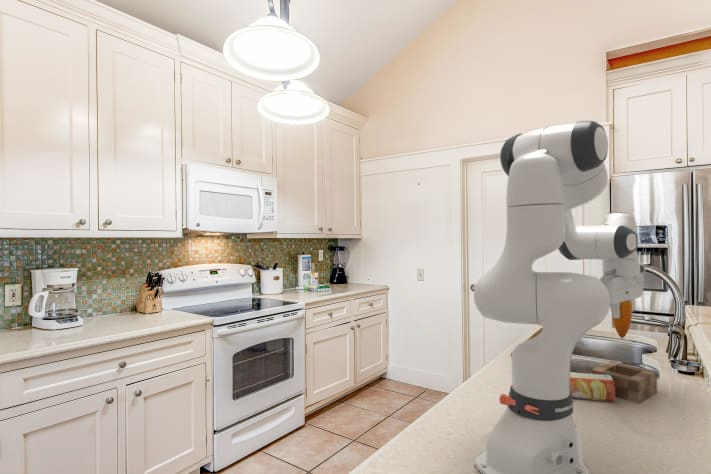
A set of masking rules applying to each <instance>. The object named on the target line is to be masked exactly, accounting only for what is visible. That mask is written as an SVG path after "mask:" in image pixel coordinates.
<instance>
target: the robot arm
mask: <svg viewBox="0 0 711 474" xmlns="http://www.w3.org/2000/svg"><path fill="white" fill-rule="evenodd" d="M608 149H609V139H608V135H607V133H606V131H605V128H604V127H603V125H601V124H599V122H597V121H595V120H579V121H576V122H574V123H564V124H559V125H553V126H544V127H541V128H537V129H533V130H530V131H527V132H525V133H518V134H516V135H513V136H512V137H509V138H508V139H506V140H505V142H504V143H503V145H502V147H501V149H500V155H499V156H500V157H499V159H500V166H501V167H502V169H503V171H504V173H505V174H506V175H507V176H508V177H507V186H506V234H505V235H506V236H505V244H504V247H503V251H502V252H501V253H502V254H501V256H500V257H499V259H498V261H497V262H496V263H495V265H494V266H493V267H492V268H491V269H489V270H488V272H486V273H485V274H484V275H482V276H481V277H480V278H479V279H478V281H477V283H476V285H475V287H474V289H473V290H474V291H473V301H474V305H475V307H476V309H477V311H478V312H479V313H480V315H481V316H482V317H483V318H486V319H489V320H493V321H495V322H496V321H498V322H502V323H507V324H508V323H509V324H521V325H522V324H526V325H538V326H539V327H540V326H541V327H542V331H541V333H540V334H538V335H537V336H535V337H532V338H529V339H527V340H524V341H523V342H521V343H518V345H516V346H515V347H514V349H513V350H512V353H511V384H512V385H510V388H509V392H508V395H507V394H505V393H501V394H500V395H499V396H500V397H499V399H498V400H499V404H501V405H506V406H507V407H506V409H505V410H504V412H503V414H502V415H501V416H500V418H499V419H498V420H497V422H496V423H495V424H494V426H493V428H492V429H491V431H490V432H489V433H488V436H487V438H486V439H487V441H486V449H485V450H484V451H483V452H482V453H480V454H479V455H478V456H477V457H476V458H475V459H474V463H475V464H474V467H475V466H476V467H477V468H478V469H477V468H476V467H475V468H476V469H477V471H478V470H479V471H480V472H481V473H480V472H479V471H478V472H479V473H480V474H482V473H483V474H590V469H588V467H587V466H586V465H585V464H584V457H583V451H582V441H581V440H582V439H581V433H580V430H579V428H578V426H577V424H576V423H575V420H574V418H573V413H574V399H573V397H572V393H571V392H570V373H571V361H572V356H573V353H574V350H575V347H576V346H577V344H578V342H579V341H580V340H581V339H582V337H583V336H584V335H585V334H586V333H588V332H589V331H590V330H591V329H592V328H595V327H596V326H598V325H600V324H601V323H602V322H603V321H604V320H605V318H606V317H607V315H608V313H609V311H610V310H611V315H612V316H613V318H621V312H620V309H619V306H620V303H621V302H625V301H628V300H629V301H630V302H631V303H632V304H633V303H634V301H633V300H635V299H638V298H641V297H643V293H644V274H645V273H646V267H645V265H643V264H642V263H640V262H639V255H638V252H637V251H638V250H637V249H638V246H639V235H638V228H637V221H636V217H635V215H634V214H631V213H629V212H617V211H616V212H609V213H606V214H604V215H603V217H602V218H603V219H602V224H600V225H598V224H597V225H580V224H577V223H575V222H574V218H573V211H572V210H573V209H576V208H578V207H581V206H583V205H587V204H589V203H591V202H592V201H594V200H596V199H597V198H598V197H599V196H600V195H601V194H603V192H604V191H605V189H606V187H607V185H608V181H609V178H608V172H607V168H606V164H605V161H606V158H607V156H608V151H609V150H608ZM557 250H558V252H559V253H560V254H561V255H562V256H563V257H565V258H566V259H567V260H570V261H578V260H602V261H601V262H602V263H601V264H602V265H601V267H602V276H601V277H600V279H599V278H598V277H596V276H594V275H593V276H592V275H587V274H583V273H576V272H571V271H570V272H566V271H565V272H561V271H560V272H557V271H554V272H553V271H535V270H533V264H534V263H535V262H536V261H537V260H538V259H540V258H543V257H544V256H545V257H546V256H547V255H549V254H552V253H554V252H555V251H557ZM627 291H628V292H629V293H628V294H627V293H626V292H627ZM613 318H612V319H613Z"/></svg>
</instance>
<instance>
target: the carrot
mask: <svg viewBox="0 0 711 474" xmlns="http://www.w3.org/2000/svg"><path fill="white" fill-rule="evenodd" d="M626 293H627V294H628V293H629V292H628V291H627V292H626ZM619 309H620V312H621V318H613V316H612V322H613V326H614V329H615V331H616V333H617V335H618V337H620V339H624V338H625V337H626V335H627V334H628V333H629V329H630V327H631V322H632V315H633V303H631V302H630V301H629V300H628V301H625V302H621V303H620V306H619Z"/></svg>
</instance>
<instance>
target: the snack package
mask: <svg viewBox="0 0 711 474" xmlns="http://www.w3.org/2000/svg"><path fill="white" fill-rule="evenodd" d="M570 392H571V393H572V399H573V398H574V399H575V398H576V399H584V400H591V401H592V400H593V401H602V402H607V403H608V402H609V403H614V402H615V399H616V397H615V383H614V381H613V379H612V377H611V376H610V375H600V374H592V373H584V372H583V373H580V372H570Z"/></svg>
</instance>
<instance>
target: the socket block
mask: <svg viewBox="0 0 711 474" xmlns="http://www.w3.org/2000/svg"><path fill="white" fill-rule="evenodd" d="M591 374H600V375H610V376H611V377H612V379H613V381H614V383H615V398H618V399H621V400H625V401H628V402H633V403H635V404H640V403H642V402H644V401H645V400H648V398H649V399H650V397H652V396H654V395H655V394H657V393H658V387H657V385H658V381H657V371H655V370H651V369H647V368H642V367H637V366H633V365H630V364H629V365H628V364H625V363H619V362H615V361H609V362H606V363H604V364H602V365H600V366H597V367H595V368H593V369H591Z"/></svg>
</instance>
